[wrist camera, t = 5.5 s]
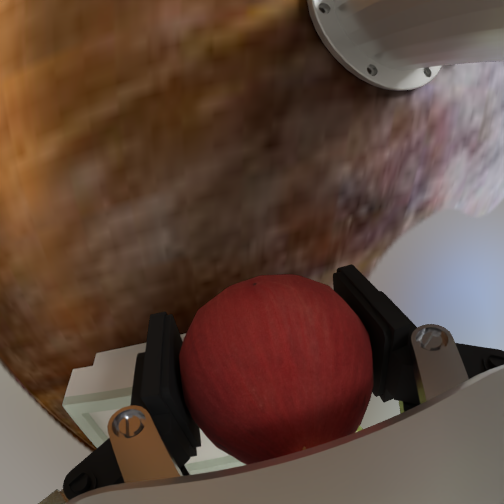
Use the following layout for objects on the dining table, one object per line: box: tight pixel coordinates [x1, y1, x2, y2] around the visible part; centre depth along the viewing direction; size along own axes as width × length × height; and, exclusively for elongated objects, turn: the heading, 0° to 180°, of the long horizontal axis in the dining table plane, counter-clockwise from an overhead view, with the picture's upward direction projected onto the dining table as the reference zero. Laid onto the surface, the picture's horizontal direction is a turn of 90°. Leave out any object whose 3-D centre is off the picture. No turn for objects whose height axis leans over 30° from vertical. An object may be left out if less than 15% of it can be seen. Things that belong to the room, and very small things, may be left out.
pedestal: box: [62, 333, 246, 475], centre depth 23 cm, size 11×11×7 cm
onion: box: [179, 274, 373, 465], centre depth 9 cm, size 6×6×8 cm
